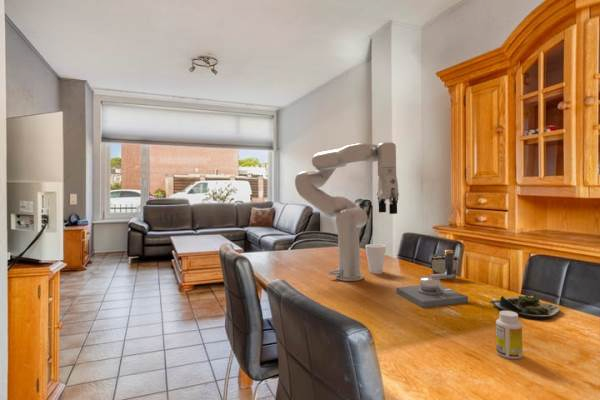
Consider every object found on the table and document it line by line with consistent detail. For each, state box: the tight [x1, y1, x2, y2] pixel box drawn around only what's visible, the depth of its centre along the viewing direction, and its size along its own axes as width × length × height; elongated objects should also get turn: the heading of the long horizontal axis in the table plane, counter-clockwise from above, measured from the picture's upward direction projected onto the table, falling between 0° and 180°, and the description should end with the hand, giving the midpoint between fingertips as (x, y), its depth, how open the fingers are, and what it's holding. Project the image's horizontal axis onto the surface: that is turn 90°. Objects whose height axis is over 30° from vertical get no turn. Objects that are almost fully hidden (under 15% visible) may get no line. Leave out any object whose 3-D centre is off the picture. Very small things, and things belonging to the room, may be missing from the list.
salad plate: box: [489, 295, 561, 321], centre depth 119 cm, size 19×18×5 cm
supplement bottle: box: [495, 310, 523, 360], centre depth 87 cm, size 6×6×10 cm
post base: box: [395, 284, 469, 308], centre depth 133 cm, size 18×18×3 cm
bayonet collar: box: [419, 249, 455, 292], centre depth 133 cm, size 13×9×14 cm
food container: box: [429, 253, 460, 280], centre depth 161 cm, size 12×6×10 cm, turn 84°
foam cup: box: [365, 243, 387, 275], centre depth 173 cm, size 10×9×13 cm
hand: (387, 213), depth 151 cm, fingers open, 9 cm apart
